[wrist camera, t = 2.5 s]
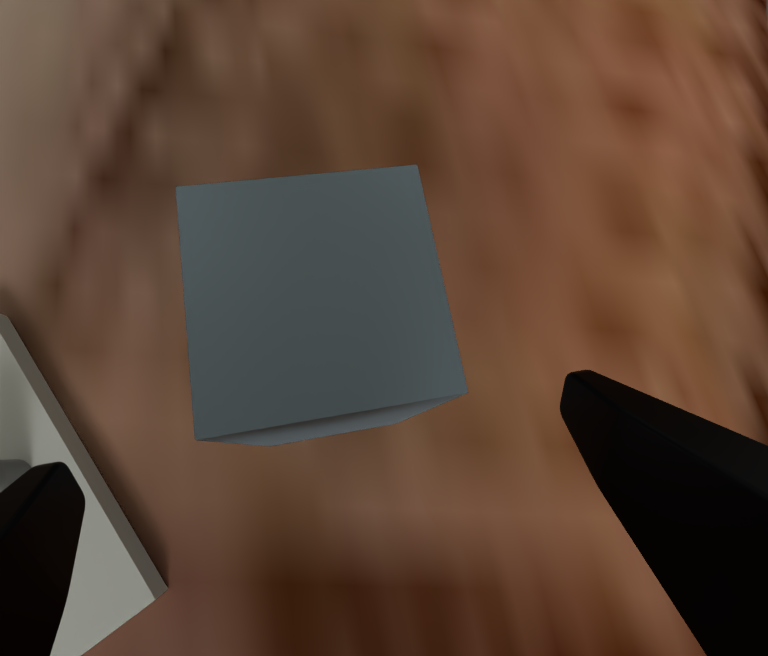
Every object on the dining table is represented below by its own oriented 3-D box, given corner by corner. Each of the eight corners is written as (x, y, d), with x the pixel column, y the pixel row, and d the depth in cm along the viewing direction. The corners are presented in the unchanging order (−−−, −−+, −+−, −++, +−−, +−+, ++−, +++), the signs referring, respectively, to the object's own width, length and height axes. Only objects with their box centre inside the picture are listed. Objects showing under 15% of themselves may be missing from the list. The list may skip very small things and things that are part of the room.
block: (396, 423, 18) (467, 393, 9) (269, 446, 18) (195, 440, 8) (374, 306, 19) (417, 164, 10) (255, 322, 19) (175, 186, 9)
